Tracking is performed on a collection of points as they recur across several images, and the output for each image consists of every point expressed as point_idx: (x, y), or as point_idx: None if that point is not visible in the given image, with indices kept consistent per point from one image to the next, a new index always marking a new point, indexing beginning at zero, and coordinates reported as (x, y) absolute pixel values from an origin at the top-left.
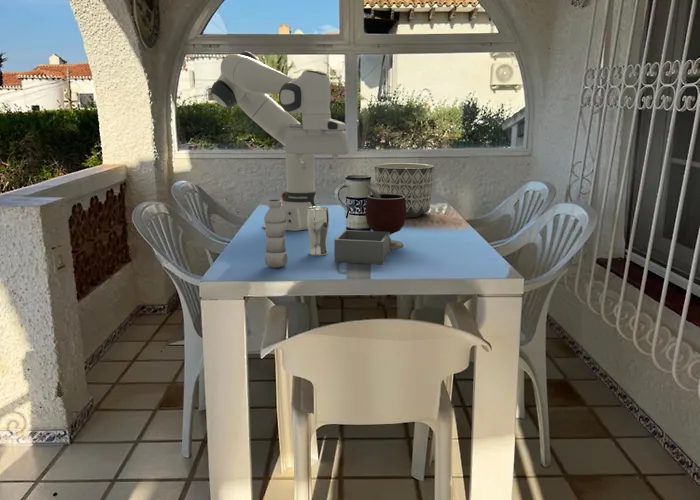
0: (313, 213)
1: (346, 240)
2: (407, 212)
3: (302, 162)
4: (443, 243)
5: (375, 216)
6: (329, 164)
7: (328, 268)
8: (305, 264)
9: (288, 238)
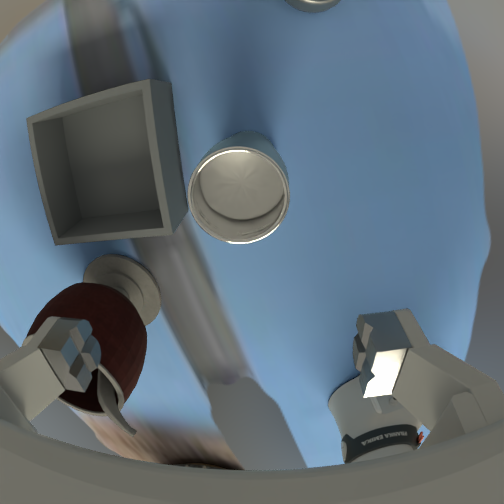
0: (244, 143)
1: (112, 88)
2: (183, 466)
3: (400, 380)
4: None
5: (87, 299)
6: (57, 343)
7: (166, 20)
8: (241, 33)
9: (378, 301)
